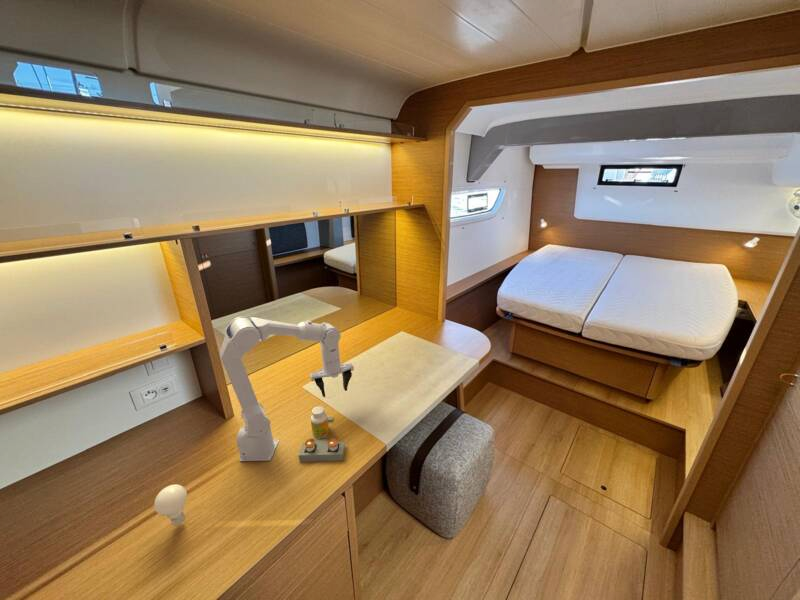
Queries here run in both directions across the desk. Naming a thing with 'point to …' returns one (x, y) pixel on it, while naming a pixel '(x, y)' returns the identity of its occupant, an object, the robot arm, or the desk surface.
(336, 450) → the plunger
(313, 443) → the plunger
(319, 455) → the housing
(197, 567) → the desk surface
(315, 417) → the supplement bottle
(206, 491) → the desk surface
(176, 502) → the lightbulb
